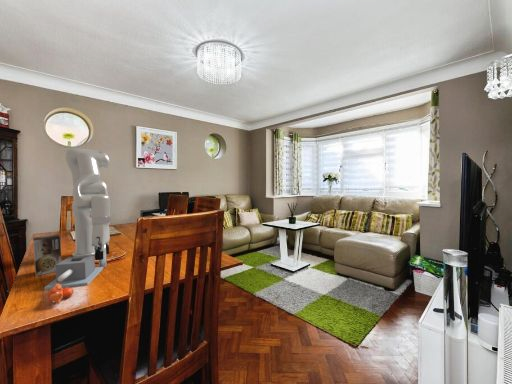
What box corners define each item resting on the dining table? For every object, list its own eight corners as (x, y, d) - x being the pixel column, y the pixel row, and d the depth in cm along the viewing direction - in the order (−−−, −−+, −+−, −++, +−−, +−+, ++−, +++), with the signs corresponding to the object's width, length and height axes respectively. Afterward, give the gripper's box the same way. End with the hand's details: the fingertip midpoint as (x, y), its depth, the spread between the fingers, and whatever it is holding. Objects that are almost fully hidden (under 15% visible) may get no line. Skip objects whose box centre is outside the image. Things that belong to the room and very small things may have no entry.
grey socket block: (67, 272, 105) (67, 254, 104) (103, 268, 109) (102, 252, 108) (37, 294, 84) (36, 273, 83) (83, 289, 88) (82, 268, 87)
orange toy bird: (49, 279, 83) (49, 291, 74) (74, 280, 88) (77, 291, 79) (43, 294, 82) (43, 307, 73) (69, 294, 87) (72, 307, 78)
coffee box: (61, 267, 111) (59, 233, 111) (62, 270, 107) (60, 236, 106) (34, 272, 105) (33, 237, 104) (35, 276, 100) (33, 239, 100)
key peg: (100, 266, 112) (99, 241, 112) (107, 265, 113) (106, 241, 113) (98, 268, 109) (97, 243, 109) (105, 267, 110) (104, 242, 110)
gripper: (98, 218, 118) (100, 252, 118) (84, 224, 101) (85, 263, 102) (115, 217, 120) (116, 251, 120) (104, 223, 103) (105, 262, 104)
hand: (102, 256), depth 111 cm, fingers open, 7 cm apart
